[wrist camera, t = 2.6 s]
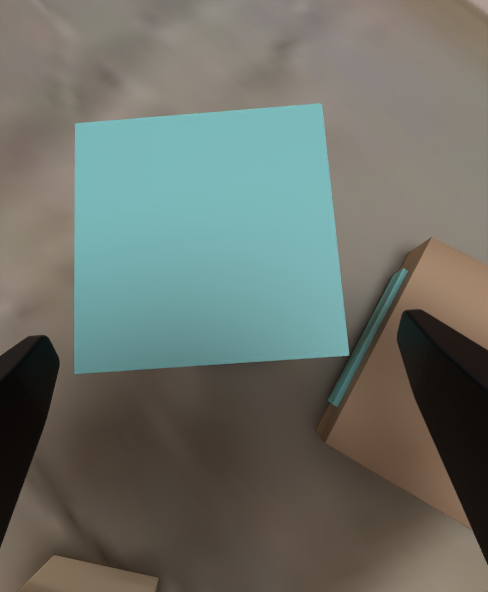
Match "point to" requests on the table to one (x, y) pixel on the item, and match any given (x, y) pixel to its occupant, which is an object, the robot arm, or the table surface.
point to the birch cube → (86, 578)
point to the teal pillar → (205, 241)
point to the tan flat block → (405, 375)
